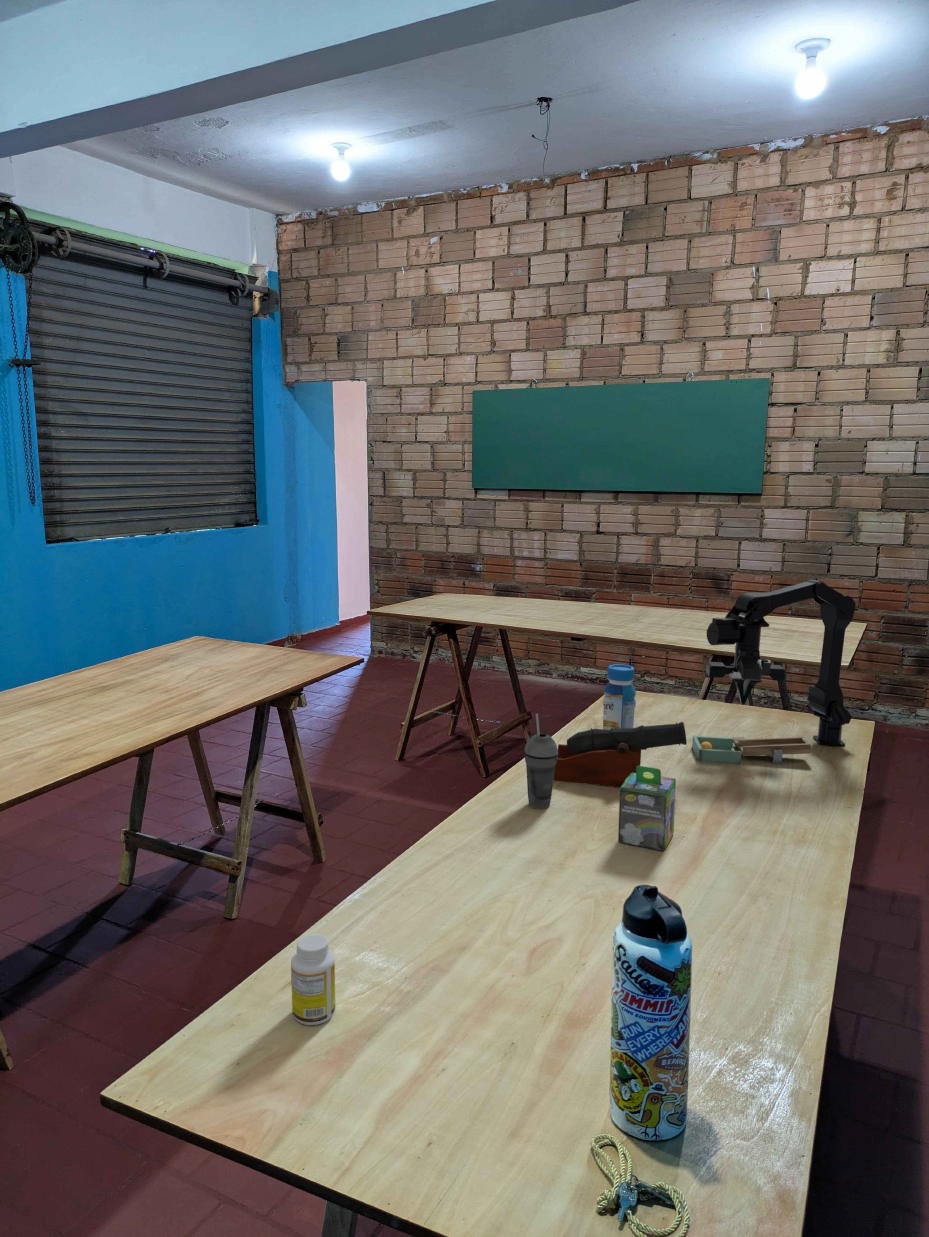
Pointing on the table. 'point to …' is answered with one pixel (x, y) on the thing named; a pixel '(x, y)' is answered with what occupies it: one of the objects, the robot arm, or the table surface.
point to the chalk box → (647, 809)
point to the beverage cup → (540, 768)
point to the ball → (706, 745)
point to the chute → (772, 745)
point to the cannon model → (611, 753)
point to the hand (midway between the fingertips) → (742, 703)
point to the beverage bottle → (619, 698)
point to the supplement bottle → (313, 980)
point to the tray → (716, 750)
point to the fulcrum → (776, 756)
